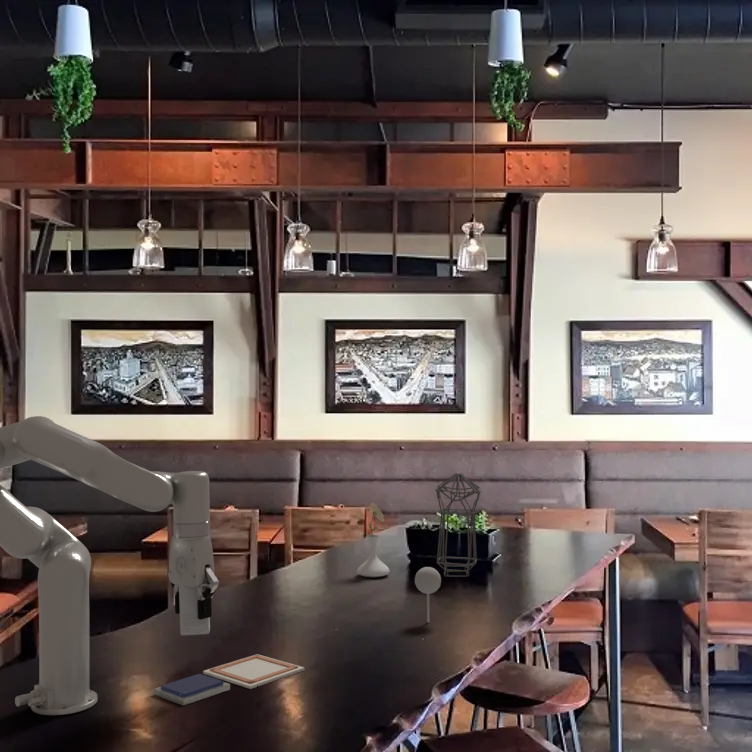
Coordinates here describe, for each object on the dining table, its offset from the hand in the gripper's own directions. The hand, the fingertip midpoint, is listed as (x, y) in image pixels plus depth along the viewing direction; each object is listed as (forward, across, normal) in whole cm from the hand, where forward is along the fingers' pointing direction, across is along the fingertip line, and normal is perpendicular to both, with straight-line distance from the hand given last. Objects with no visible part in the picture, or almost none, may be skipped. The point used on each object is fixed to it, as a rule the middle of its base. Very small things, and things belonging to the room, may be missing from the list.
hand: (193, 614), depth 180 cm
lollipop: (+17, +5, +75) cm, 77 cm away
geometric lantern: (+17, -25, +132) cm, 135 cm away
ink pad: (+16, 0, 0) cm, 16 cm away
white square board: (+16, 0, +17) cm, 23 cm away
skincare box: (+4, 0, 0) cm, 4 cm away
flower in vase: (+17, -47, +112) cm, 122 cm away
